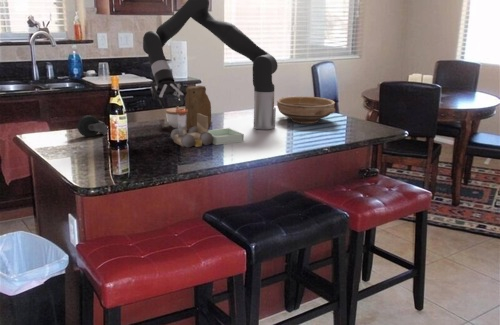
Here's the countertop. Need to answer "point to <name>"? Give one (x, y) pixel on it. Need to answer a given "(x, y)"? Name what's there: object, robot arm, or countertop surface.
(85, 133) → the caster wheel
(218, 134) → the tray
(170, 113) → the lidded jar
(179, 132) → the copper topped glass grinder
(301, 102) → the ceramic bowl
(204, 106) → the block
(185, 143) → the trolley
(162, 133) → the countertop surface
